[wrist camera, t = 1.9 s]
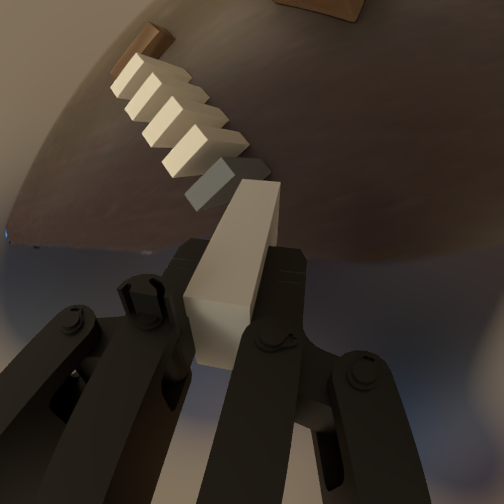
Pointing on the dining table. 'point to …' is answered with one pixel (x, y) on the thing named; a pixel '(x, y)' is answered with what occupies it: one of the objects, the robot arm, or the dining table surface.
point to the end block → (145, 46)
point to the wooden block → (329, 7)
